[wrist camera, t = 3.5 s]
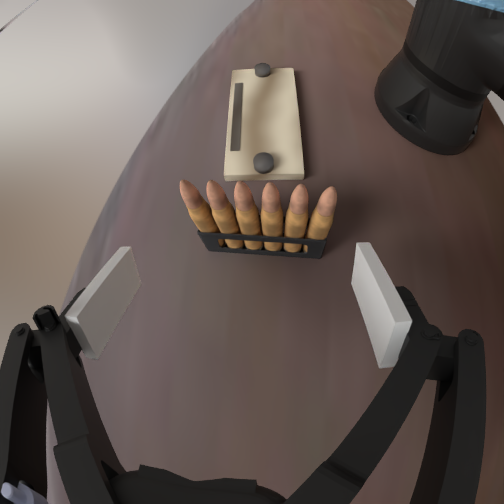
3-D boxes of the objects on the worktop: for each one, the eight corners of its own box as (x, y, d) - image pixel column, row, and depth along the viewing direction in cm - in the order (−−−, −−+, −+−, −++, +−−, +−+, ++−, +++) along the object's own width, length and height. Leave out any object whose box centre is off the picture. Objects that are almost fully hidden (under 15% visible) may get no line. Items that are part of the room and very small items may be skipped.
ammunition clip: (207, 251, 29) (164, 194, 17) (210, 232, 29) (171, 167, 18) (320, 258, 27) (349, 203, 16) (321, 239, 28) (347, 175, 16)
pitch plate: (293, 74, 34) (293, 62, 32) (303, 179, 30) (304, 168, 28) (233, 76, 35) (231, 64, 33) (225, 181, 30) (222, 170, 28)
